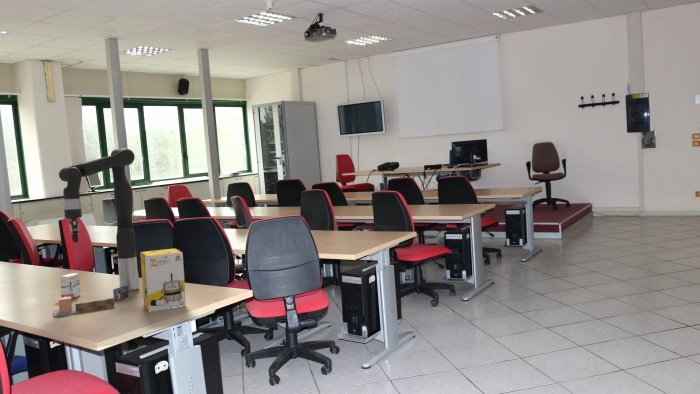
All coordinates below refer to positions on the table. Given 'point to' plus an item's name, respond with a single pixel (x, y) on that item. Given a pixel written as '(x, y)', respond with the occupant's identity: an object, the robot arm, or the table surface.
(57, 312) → the slate mat
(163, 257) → the packaging box
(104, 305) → the walnut screen
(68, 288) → the ink box
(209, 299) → the table surface
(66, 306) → the terracotta block
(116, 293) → the mini dv tape
